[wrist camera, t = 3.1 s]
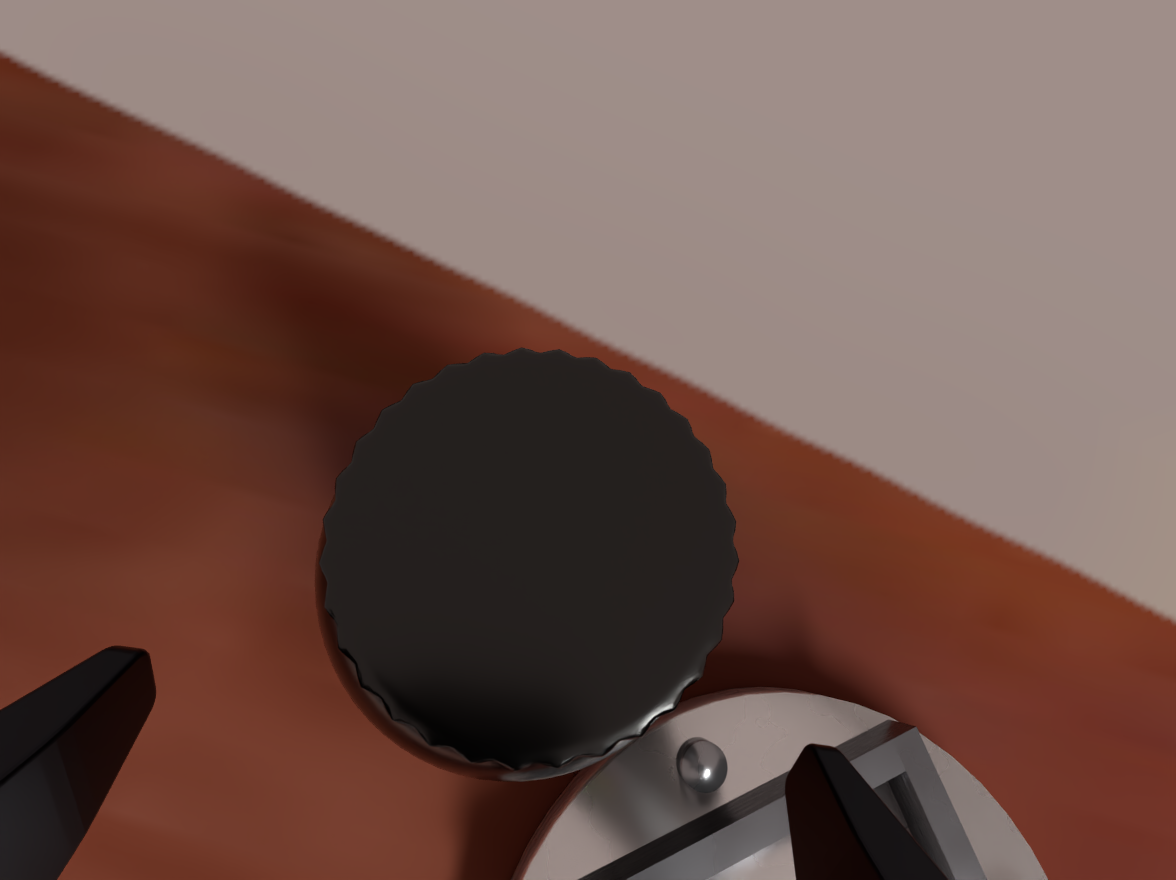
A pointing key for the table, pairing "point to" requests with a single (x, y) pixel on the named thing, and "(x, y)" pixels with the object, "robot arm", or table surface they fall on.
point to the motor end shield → (761, 796)
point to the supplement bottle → (524, 565)
